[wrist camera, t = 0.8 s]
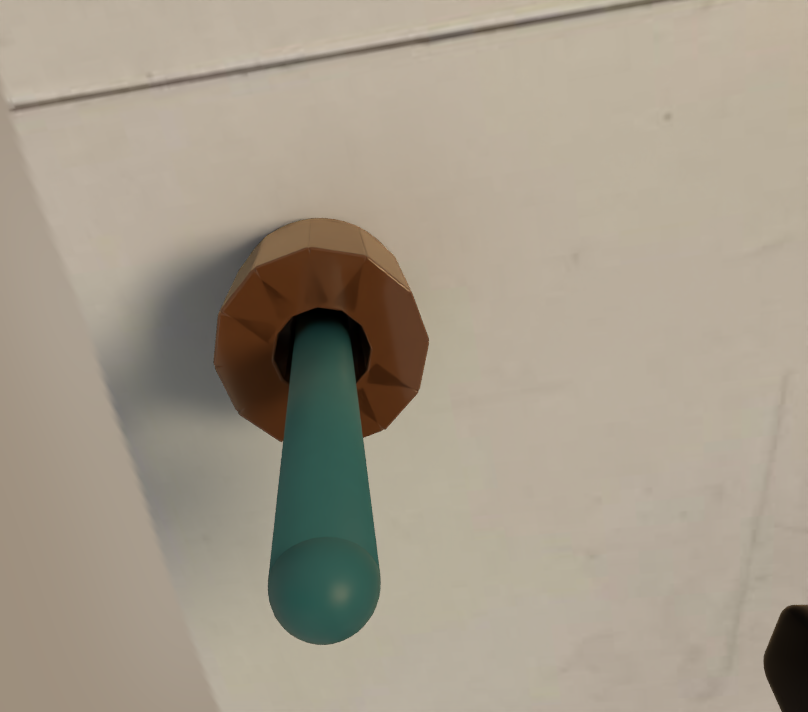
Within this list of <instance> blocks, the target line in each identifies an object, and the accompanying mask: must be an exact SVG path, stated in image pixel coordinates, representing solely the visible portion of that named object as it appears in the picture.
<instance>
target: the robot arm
mask: <svg viewBox="0 0 808 712" xmlns="http://www.w3.org/2000/svg"><path fill="white" fill-rule="evenodd" d="M764 670H765V674H766V677H767V680H768V682H769V684H770V687H771V689H772V691H773V693H774V695H775V698H776V700H777V702H778V704H779V706H780V709H781V711H782V712H808V605H791V606H788V607H786V608H785V609H784V610H783V611H782V613H781V614H780V617H779V619H778V622H777V624H776V627H775V629H774V631H773V634H772V636H771V639H770V641H769V644H768V646H767V649H766V651H765V654H764Z"/></svg>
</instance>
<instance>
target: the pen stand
mask: <svg viewBox="0 0 808 712" xmlns="http://www.w3.org/2000/svg"><path fill="white" fill-rule="evenodd" d="M314 308H324V309H331V310H338V311H342V312H344V313H345V314H346V315H348V323H349V331H350V339H351V347H352V355H353V363H354V371H355V379H356V387H357V395H358V403H359V410H360V418H361V426H362V434H363V438H364V437H366V436H369V435H372V434H374V433H377V432H380V431H382V430H383V429H386V428H387V427H388V426H389V425H390V424H391V423H392V422H393V420H394V419H395V418H396V417H397V416H398V415H399V414H400V413H401V411H402V410H403V409H404V408H405V407H406V406H407V405H408V404H409V402H410V401H411V400H412V399H413V398H414V397H415V396H416V395H417V393H418V390H419V389H420V385H421V380H422V375H423V370H424V365H425V361H426V356H427V351H428V346H429V338H428V335H427V332H426V329H425V327H424V324H423V321H422V318H421V316H420V313H419V310H418V307H417V305H416V302H415V299H414V297H413V294H412V291H411V289H410V287H409V285H408V283H407V281H406V279H405V277H404V275H403V272H402V270H401V268H400V266H399V264H398V262H397V260H396V258H395V256H394V255H393V254H392V253H391V252H390V251H389V250H387V249H386V248H385V246H384V245H383V244H382V243H381V242H380V241H379V240H377V239H376V238H375V237H374V236H373V235H371V234H370V233H368V232H367V231H365V230H363V229H362V228H360V227H358V226H356V225H353V224H350V223H348V222H345V221H340V220H336V219H328V218H311V219H305V220H299V221H296V222H293V223H290V224H287V225H285V226H283V227H281V228H279V229H277V230H275V231H274V232H272V233H271V234H268V235H267V236H266V237H265V238H263V240H262V241H261V242H260V243H259V244H258V245H257V246H256V247H255V249H254V250H253V251H252V252H251V254H250V255H249V257H248V258H247V260H246V262H245V263H244V264H243V265H242V267H241V268H240V269H239V271H238V273H237V275H236V277H235V279H234V282H233V284H232V286H231V288H230V290H229V292H228V294H227V296H226V298H225V300H224V303H223V305H222V307H221V309H220V311H219V313H218V319H217V330H216V340H215V351H214V361H213V363H214V365H215V370H216V372H217V374H218V376H219V377H220V379H221V381H222V383H223V385H224V387H225V389H226V391H227V393H228V395H229V397H230V399H231V401H232V403H233V405H234V407H235V409H236V410H237V411H238V413H239V415H241V416H242V417H244V418H245V419H247V420H248V421H250V422H251V423H253V424H254V425H256V426H257V427H259V428H260V429H262V430H263V431H265V432H266V433H268V434H269V435H271V436H272V437H274V438H275V439H277V440H278V441H280V442H282V441H283V439H284V430H285V421H286V412H287V402H288V393H289V384H290V375H291V365H292V356H293V347H294V338H295V328H296V319H297V315H298V314H301V313H304V312H306V311H309V310H312V309H314Z"/></svg>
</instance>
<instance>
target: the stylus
mask: <svg viewBox="0 0 808 712" xmlns="http://www.w3.org/2000/svg"><path fill="white" fill-rule="evenodd" d="M380 583H381V581H380V570H379V562H378V554H377V546H376V538H375V530H374V522H373V514H372V506H371V498H370V490H369V482H368V474H367V466H366V458H365V450H364V442H363V434H362V426H361V418H360V410H359V403H358V395H357V387H356V379H355V371H354V363H353V355H352V347H351V339H350V331H349V323H348V315H346V314H345V313H344V312H342V311H338V310H331V309H324V308H314V309H312V310H309V311H306V312H304V313H301V314H298V315H297V319H296V328H295V338H294V347H293V356H292V365H291V375H290V384H289V393H288V402H287V412H286V421H285V430H284V439H283V449H282V458H281V467H280V476H279V485H278V495H277V504H276V513H275V522H274V532H273V541H272V550H271V559H270V569H269V578H268V595H269V602H270V605H271V608H272V610H273V613H274V615H275V617H276V619H277V620H278V622H279V623H280V624H281V625H282V627H283V628H284V629H285V630H286V631H287V632H288V633H290V634H291V635H292V636H294V637H296V638H297V639H300V640H302V641H305V642H308V643H311V644H317V645H327V644H334V643H337V642H341V641H343V640H345V639H347V638H349V637H351V636H352V635H354V634H355V633H357V632H358V631H359V630H360V629H361V628H362V627H363V626H364V625H365V624H366V623H367V621H368V620H369V619H370V617H371V616H372V614H373V613H374V610H375V608H376V605H377V602H378V599H379V595H380Z"/></svg>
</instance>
